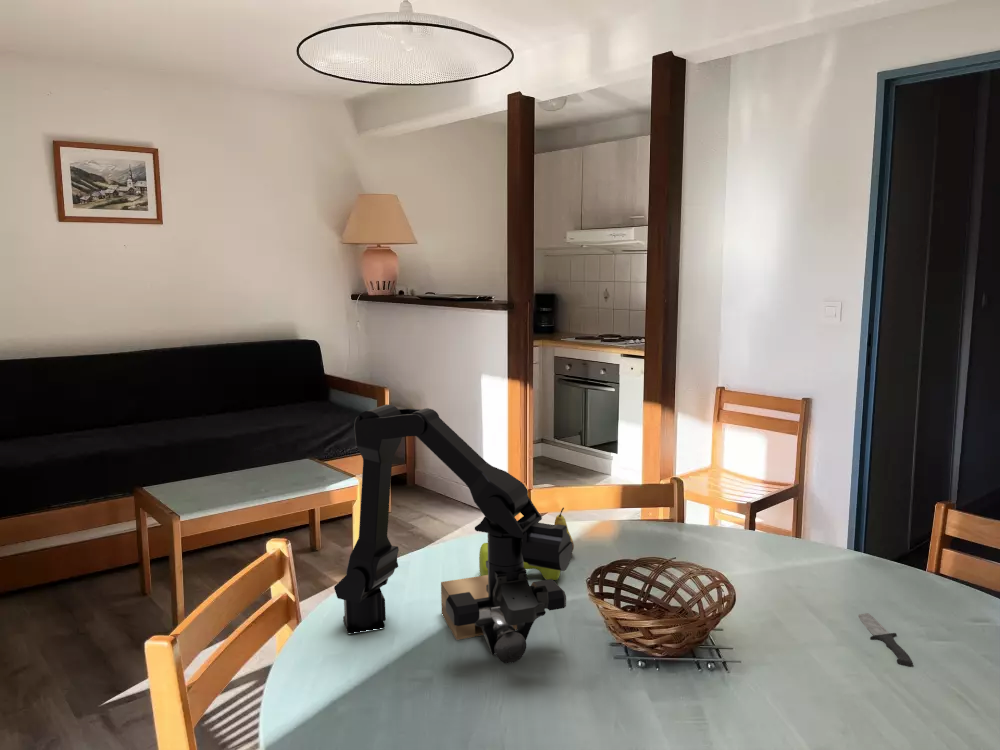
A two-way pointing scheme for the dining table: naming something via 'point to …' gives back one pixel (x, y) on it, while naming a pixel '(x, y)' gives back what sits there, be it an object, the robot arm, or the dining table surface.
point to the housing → (477, 591)
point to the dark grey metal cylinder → (507, 639)
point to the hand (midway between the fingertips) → (506, 651)
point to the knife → (885, 638)
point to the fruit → (561, 521)
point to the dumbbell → (545, 571)
